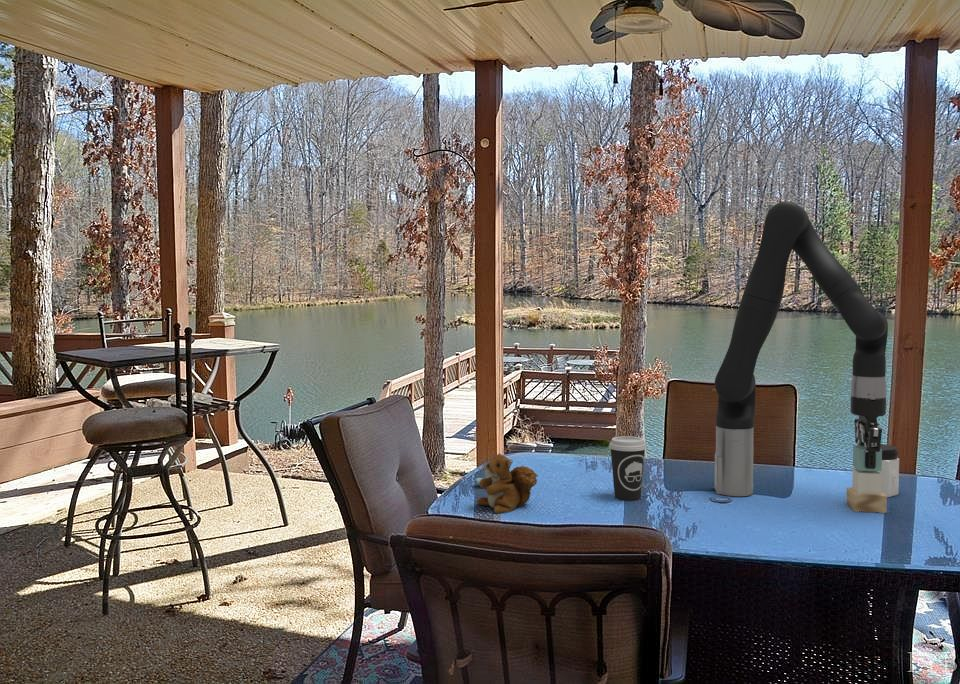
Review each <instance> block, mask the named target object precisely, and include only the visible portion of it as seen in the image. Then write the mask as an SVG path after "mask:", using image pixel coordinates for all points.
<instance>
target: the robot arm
mask: <svg viewBox="0 0 960 684" xmlns="http://www.w3.org/2000/svg"><path fill="white" fill-rule="evenodd" d="M792 250H793V252H795V254H797V255H798V257H799V258H800V259H801V261H802V262H803V264H804V265H805V267H806V268H807V270H809V273H810V274H811V276H812V277H813V279H814V281H815V282H816V284H817V285H818V287H819V288H820V289H821V291H822V293H823V294H824V295H825V296H826V297H827V298H828V300H829V301H830V303H831V304H832V305H833V306H834V307H835V308H836V309H837V310H838V312H839V314H840V316H841V317H842V319H843V320H844V322H845V323H846V325H847V327H848V328H849V329H850V330H851V332H852V333H853V334H854V336H855V351H854V353H853V358H852V374H851V382H850V410H849V411H850V413H851V414H852V415H854V416H858V418H854V420H853V422H854V438H855V439H854V442H855V444H856V445H863V446H865V467H866V468H867V469H875V468H876V453H877V452H880V445H881V444H882V437H883V436H882V434H883V429H882V427H880V425H879V424H880V423H878V417H884V416H885V415H886V413H887V379H886V374H887V373H886V370H887V367H886V366H887V362H886V361H887V359H886V350H887V343H888V335H889V333H888V332H889V323H888V319H887V317H886V316H885V315H884V313H882V312H881V311H878V310H876V309H875V307H874V306H873V305H872V304H871V302H870V301H869V300H868V299H867V298H866V297H865V294H864V292H863V289H862V288H861V287H860V285H858V283H857V281H856V280H855V279H854V277H852V276H851V274H850V273H849V272H848V271H847V269H846V268H845V267H844V266H843V265H842V264H841V263H840V262H839V260H838V259H837V258H836V257H835V256H834V255H833V254H832V252H831V251H830V250H829V249H828V248H827V246H826V245H825V243H824V242H823V241H822V239H821V237H820V236H819V234H818V233H817V231H816V229H815V228H814V226H813V224H812V222H811V220H810V218H809V215H808V212H807V211H806V210H805V209H804V207H802V206H801V205H799V204H797V203H795V202H793V201H790V200H786V201H785V200H784V201H780V202H777V203H776V204H774V205H773V206H772V207H771V208H769V210H768V212H767V214H766V216H765V219H764V223H763V229H762V234H761V240H760V243H759V248H758V252H757V255H756V258H755V261H754V263H753V266H752V269H751V271H750V273H749V276H748V278H747V282H746V285H745V288H744V290H743V293H742V296H741V299H740V302H739V305H738V308H737V312H736V313H737V314H736V317H735V320H734V325H733V329H732V333H731V338H730V342H729V346H728V348H727V351H726V353H725V355H724V358H723V360H722V363H721V365H720V367H719V369H718V371H717V373H716V374H715V375H716V376H715V379H714V387H715V388H714V389H715V391H716V394H717V395H718V399H717V400H718V401H717V412H716V415H715V452H714V491H715V494H716V495H723V496H728V497H747V496H751V495H753V494H754V439H755V438H754V433H755V432H754V429H755V426H754V424H755V423H754V422H755V416H756V415H755V414H756V384H757V383H756V377H755V374H754V373H755V369H756V365H757V361H758V357H759V354H760V352H761V349H762V347H763V346H764V343H765V342H766V341H767V340H766V339H767V338H768V336H769V334H770V332H771V330H772V327H773V325H774V323H775V321H776V319H777V317H778V316H777V315H778V312H779V309H780V307H781V303H782V301H783V300H782V299H783V297H784V290H785V285H786V284H785V283H786V275H787V267H788V264H789V263H788V262H789V259H790V256H791V253H792ZM871 444H873V446H874V447H873V446H871Z"/></svg>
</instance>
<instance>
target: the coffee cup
mask: <svg viewBox="0 0 960 684" xmlns="http://www.w3.org/2000/svg"><path fill="white" fill-rule="evenodd" d="M644 440H645V439H644V438H642V437H638V436H633V435H632V436H631V435H623V436H614V437H612V438H611V441H610V442H609V443H608V449H610V457H611V469H612V479H613V480H612V481H613V492H614V493H613V494H614V498H615V499H617V500H619V501H624V502H625V501H627V502H631V501H634V502H635V501H637V500H638V501H639V500H640V499H641V497H642V485H643V475H644V464H645V454H646V450H647V448H648V446H647V444H646V443H645V441H644Z"/></svg>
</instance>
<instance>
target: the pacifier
mask: <svg viewBox="0 0 960 684" xmlns="http://www.w3.org/2000/svg"><path fill="white" fill-rule="evenodd" d="M484 467H485V466H484ZM485 468H486V467H485ZM483 469H484V468H483ZM484 470H485V469H484ZM484 470H483V471H484ZM483 474H484V475H485V478H484V477H477V478H476V479H475V481H476V483H477V484H478V485H479V482H480V481H481V479H486V478H489V477H491V476H492V475H490V474H489V473H488V472H487V468H486V470H485V473H484V472H483Z"/></svg>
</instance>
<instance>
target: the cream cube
mask: <svg viewBox="0 0 960 684" xmlns="http://www.w3.org/2000/svg"><path fill="white" fill-rule="evenodd" d="M881 478H882V474H881V473H880V472H878V471H859V470H857V469H856V468H855V467H853V468H852V485H851V488H852V489H853V490H854V491H855V492H857V493H858V494H872V495H881Z"/></svg>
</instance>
